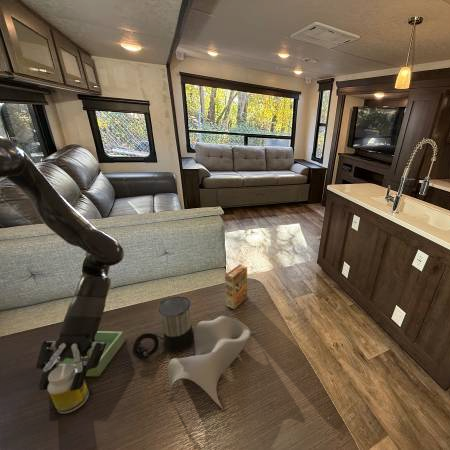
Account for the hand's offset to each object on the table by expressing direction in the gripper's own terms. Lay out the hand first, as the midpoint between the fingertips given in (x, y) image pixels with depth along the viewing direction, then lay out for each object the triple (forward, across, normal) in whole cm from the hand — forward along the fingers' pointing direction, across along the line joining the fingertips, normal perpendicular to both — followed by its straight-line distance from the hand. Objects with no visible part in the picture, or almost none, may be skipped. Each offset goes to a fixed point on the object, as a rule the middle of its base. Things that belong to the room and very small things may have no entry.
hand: (59, 389), depth 59 cm
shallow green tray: (-5, -5, +16) cm, 17 cm away
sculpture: (-4, +32, +15) cm, 36 cm away
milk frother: (-8, +15, +19) cm, 26 cm away
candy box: (-24, +34, +35) cm, 54 cm away
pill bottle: (+4, 0, +6) cm, 8 cm away
